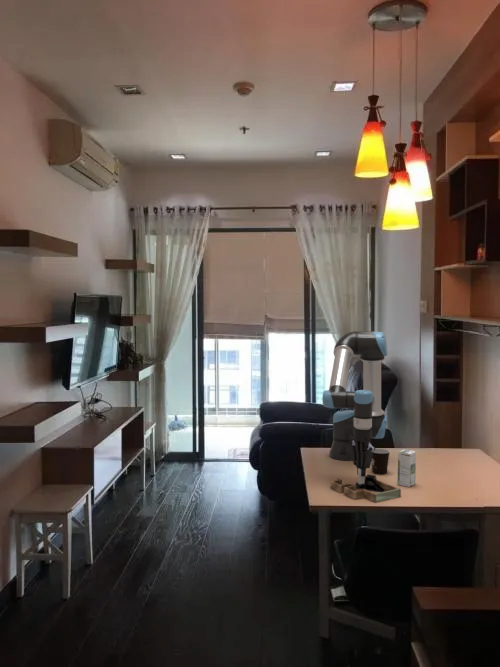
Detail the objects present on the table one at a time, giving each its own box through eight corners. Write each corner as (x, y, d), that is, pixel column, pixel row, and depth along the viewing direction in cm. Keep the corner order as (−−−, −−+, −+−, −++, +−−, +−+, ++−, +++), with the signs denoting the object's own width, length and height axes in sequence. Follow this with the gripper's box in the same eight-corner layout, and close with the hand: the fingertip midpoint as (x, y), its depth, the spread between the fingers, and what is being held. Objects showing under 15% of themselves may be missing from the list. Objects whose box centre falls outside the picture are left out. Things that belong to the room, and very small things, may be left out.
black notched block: (353, 487, 227) (353, 476, 226) (359, 480, 233) (359, 470, 232) (383, 492, 221) (383, 481, 220) (387, 485, 227) (387, 475, 226)
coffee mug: (389, 475, 243) (389, 453, 243) (370, 474, 245) (370, 452, 245) (388, 468, 255) (388, 447, 254) (369, 467, 256) (369, 446, 256)
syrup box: (402, 481, 235) (403, 448, 234) (415, 484, 231) (416, 450, 231) (397, 484, 230) (397, 451, 230) (410, 487, 227) (410, 453, 226)
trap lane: (327, 486, 228) (327, 479, 228) (360, 480, 237) (361, 473, 237) (365, 504, 207) (365, 496, 207) (400, 496, 216) (400, 489, 216)
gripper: (345, 425, 228) (343, 480, 229) (367, 431, 217) (365, 489, 218) (358, 423, 232) (356, 477, 233) (380, 429, 221) (378, 486, 223)
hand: (361, 483), depth 226 cm, fingers closed
